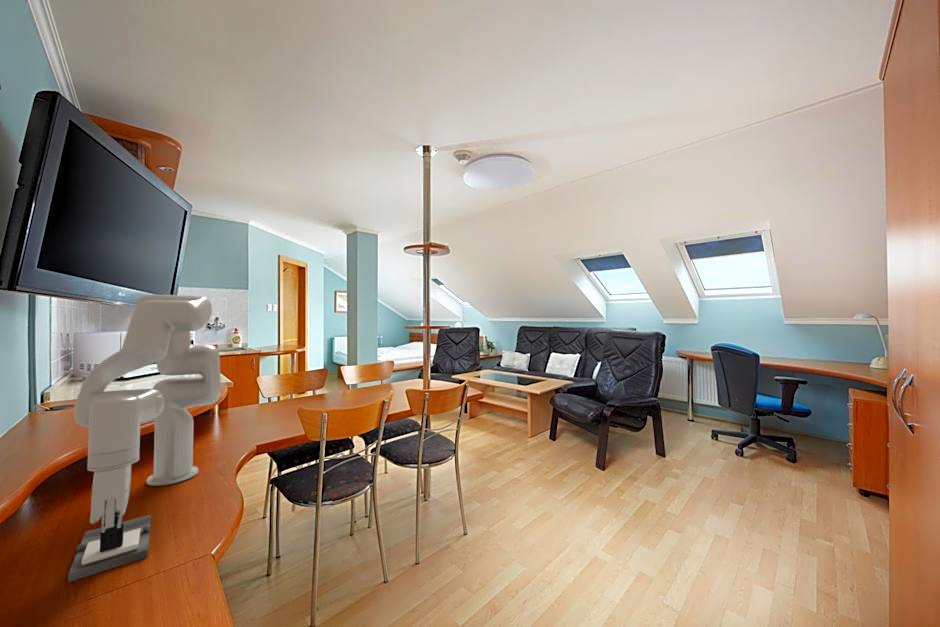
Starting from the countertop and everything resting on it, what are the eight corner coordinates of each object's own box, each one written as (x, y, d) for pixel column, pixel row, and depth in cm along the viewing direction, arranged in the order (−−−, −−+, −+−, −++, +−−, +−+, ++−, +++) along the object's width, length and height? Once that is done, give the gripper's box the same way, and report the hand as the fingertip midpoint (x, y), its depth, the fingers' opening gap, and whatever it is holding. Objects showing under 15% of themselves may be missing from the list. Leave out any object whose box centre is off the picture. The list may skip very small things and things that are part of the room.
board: (84, 538, 79) (84, 526, 79) (151, 520, 86) (151, 509, 87) (67, 582, 66) (67, 567, 66) (148, 556, 73) (148, 543, 73)
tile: (81, 560, 68) (81, 566, 68) (138, 543, 73) (138, 549, 73) (88, 542, 73) (88, 548, 73) (140, 527, 79) (140, 533, 78)
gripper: (93, 451, 75) (90, 538, 75) (80, 473, 64) (77, 576, 63) (141, 443, 80) (139, 525, 80) (137, 462, 69) (134, 558, 68)
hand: (111, 547), depth 71 cm, fingers closed
